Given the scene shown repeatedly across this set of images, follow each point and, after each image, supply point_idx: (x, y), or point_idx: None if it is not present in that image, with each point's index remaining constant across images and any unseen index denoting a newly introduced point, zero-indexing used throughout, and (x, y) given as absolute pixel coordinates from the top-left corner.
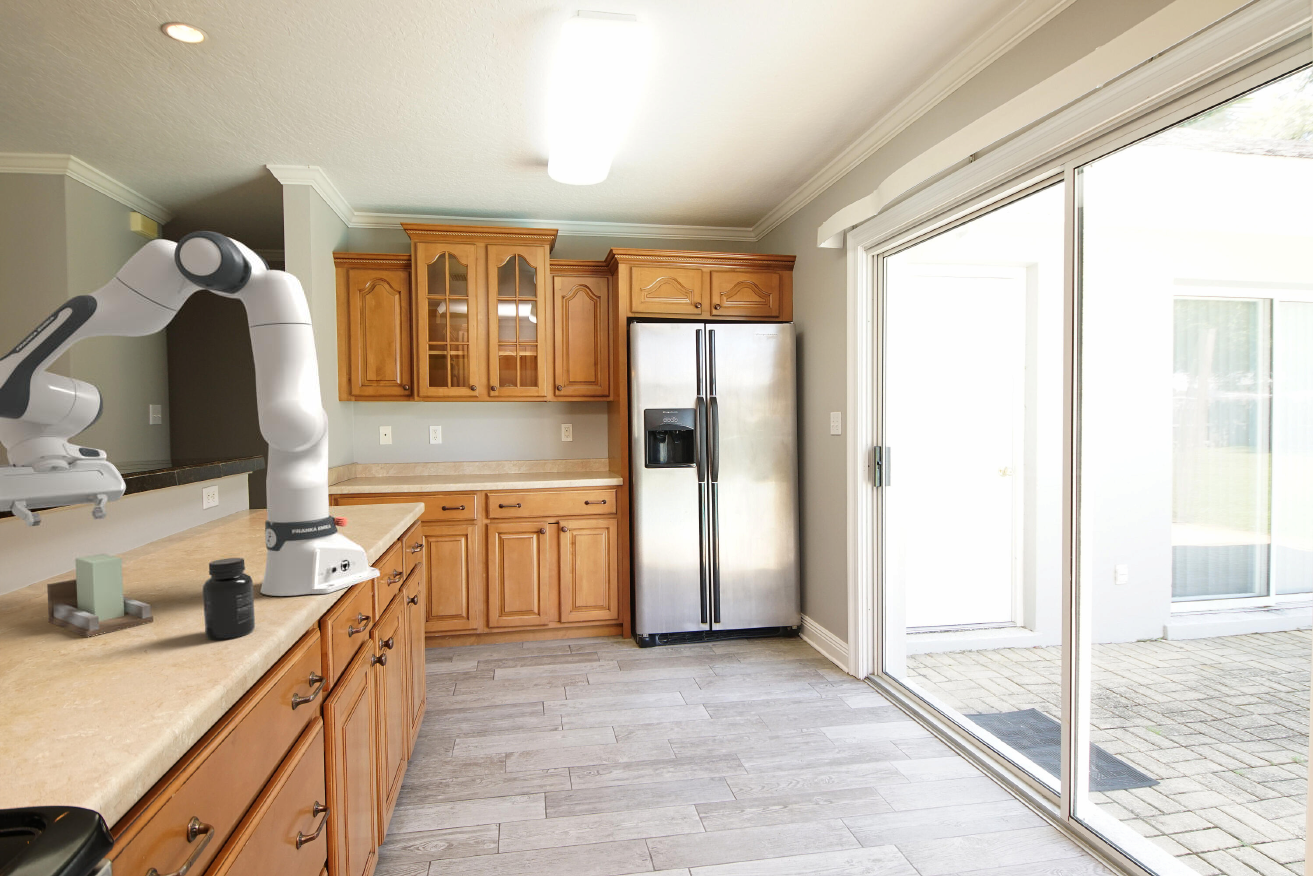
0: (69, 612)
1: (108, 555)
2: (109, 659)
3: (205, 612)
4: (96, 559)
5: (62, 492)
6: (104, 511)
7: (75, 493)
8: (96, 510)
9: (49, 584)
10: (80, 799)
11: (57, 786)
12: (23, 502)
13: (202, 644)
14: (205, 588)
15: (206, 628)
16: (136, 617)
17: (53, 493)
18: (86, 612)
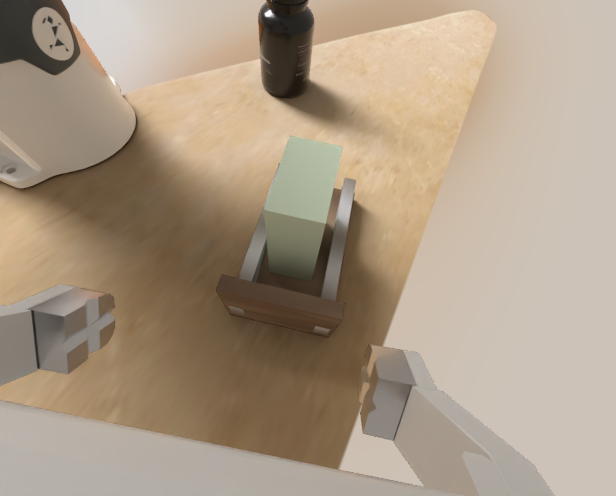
0: (344, 244)
1: (275, 183)
2: (381, 122)
3: (310, 58)
4: (315, 169)
5: (125, 442)
6: (61, 287)
7: (13, 406)
8: (84, 302)
9: (340, 313)
10: (478, 11)
11: (481, 22)
12: (495, 491)
13: (318, 85)
14: (313, 23)
15: (308, 78)
16: None
17: (224, 464)
18: (339, 210)
